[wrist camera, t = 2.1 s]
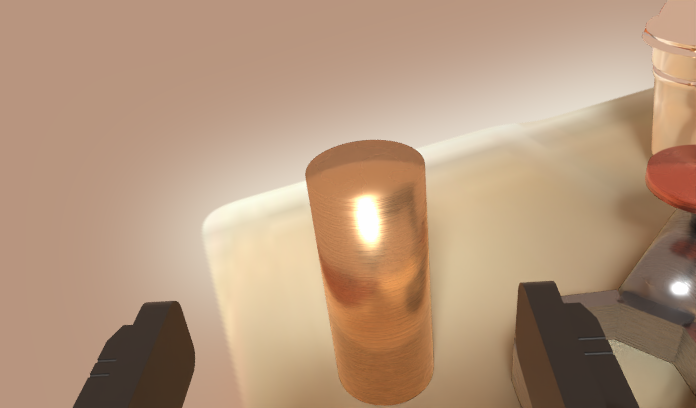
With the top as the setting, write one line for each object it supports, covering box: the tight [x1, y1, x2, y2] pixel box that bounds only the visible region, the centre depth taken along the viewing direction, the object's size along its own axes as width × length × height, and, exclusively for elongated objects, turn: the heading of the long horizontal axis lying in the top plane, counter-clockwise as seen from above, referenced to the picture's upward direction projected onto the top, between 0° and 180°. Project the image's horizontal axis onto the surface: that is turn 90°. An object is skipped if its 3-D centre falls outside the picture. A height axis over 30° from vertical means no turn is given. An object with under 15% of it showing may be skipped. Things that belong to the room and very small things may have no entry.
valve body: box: [512, 145, 696, 408], centre depth 29 cm, size 18×9×7 cm, turn 138°
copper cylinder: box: [305, 140, 434, 406], centre depth 28 cm, size 5×5×12 cm
